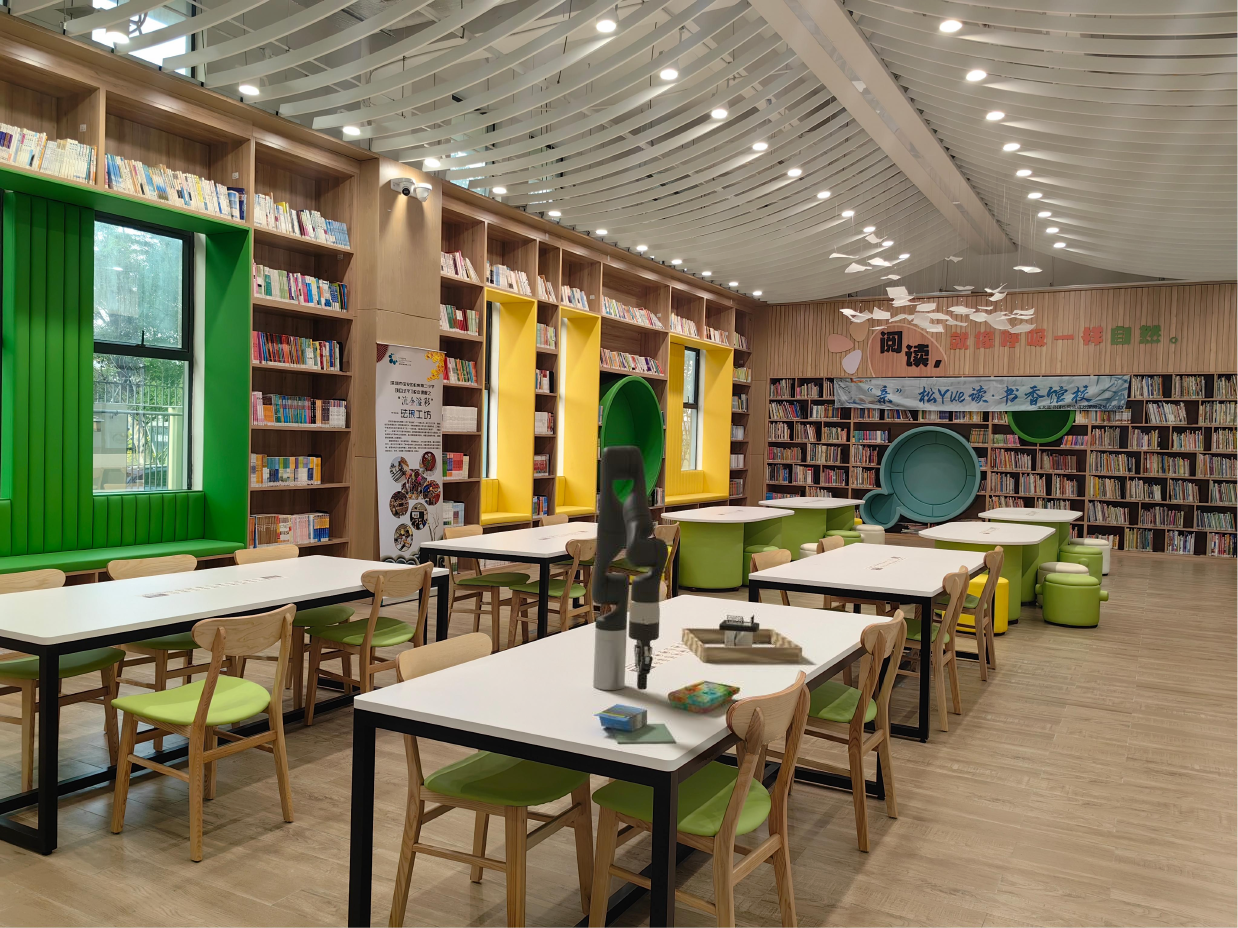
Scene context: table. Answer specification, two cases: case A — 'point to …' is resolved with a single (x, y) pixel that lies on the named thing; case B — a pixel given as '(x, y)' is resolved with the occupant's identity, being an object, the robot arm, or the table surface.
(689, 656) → the table surface
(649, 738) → the mat
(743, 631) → the black-topped pedestal
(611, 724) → the label tape cartridge
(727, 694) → the puzzle game
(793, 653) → the holder frame
